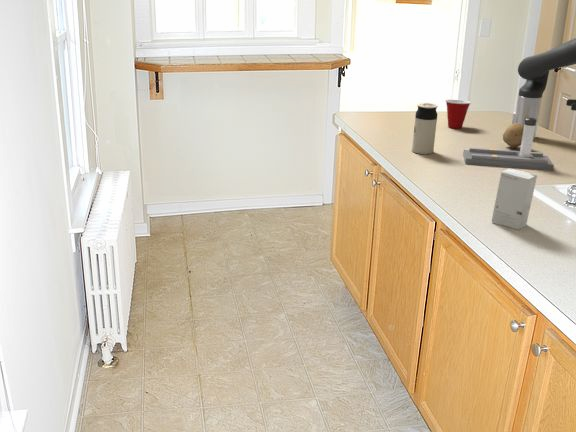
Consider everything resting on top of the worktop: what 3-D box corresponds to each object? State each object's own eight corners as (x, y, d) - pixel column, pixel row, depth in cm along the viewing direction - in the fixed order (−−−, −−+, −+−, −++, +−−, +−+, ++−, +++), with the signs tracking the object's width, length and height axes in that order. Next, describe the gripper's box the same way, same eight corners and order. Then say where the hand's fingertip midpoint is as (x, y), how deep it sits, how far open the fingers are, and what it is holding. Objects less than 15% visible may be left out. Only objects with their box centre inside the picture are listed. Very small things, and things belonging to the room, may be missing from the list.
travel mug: (435, 150, 253) (440, 104, 247) (430, 155, 246) (435, 107, 240) (414, 148, 256) (419, 101, 250) (409, 152, 249) (414, 105, 243)
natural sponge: (526, 152, 255) (531, 126, 251) (502, 150, 257) (506, 125, 253) (523, 146, 263) (527, 121, 260) (500, 144, 265) (504, 120, 261)
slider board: (546, 161, 244) (547, 152, 243) (552, 170, 233) (554, 161, 232) (463, 154, 249) (464, 146, 248) (465, 163, 238) (466, 154, 236)
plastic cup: (468, 126, 293) (472, 99, 289) (466, 131, 284) (470, 103, 280) (443, 123, 297) (446, 96, 292) (440, 128, 287) (444, 101, 283)
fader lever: (530, 155, 242) (536, 117, 236) (533, 160, 236) (539, 121, 231) (516, 154, 242) (522, 116, 237) (518, 159, 237) (524, 120, 232)
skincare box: (491, 222, 184) (498, 171, 179) (500, 217, 188) (507, 167, 183) (520, 230, 179) (529, 178, 174) (528, 224, 184) (537, 173, 178)
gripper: (615, 92, 232) (566, 90, 235) (626, 99, 219) (574, 97, 222) (611, 113, 235) (563, 111, 238) (622, 121, 222) (571, 119, 225)
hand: (569, 104), depth 230 cm, fingers open, 8 cm apart
